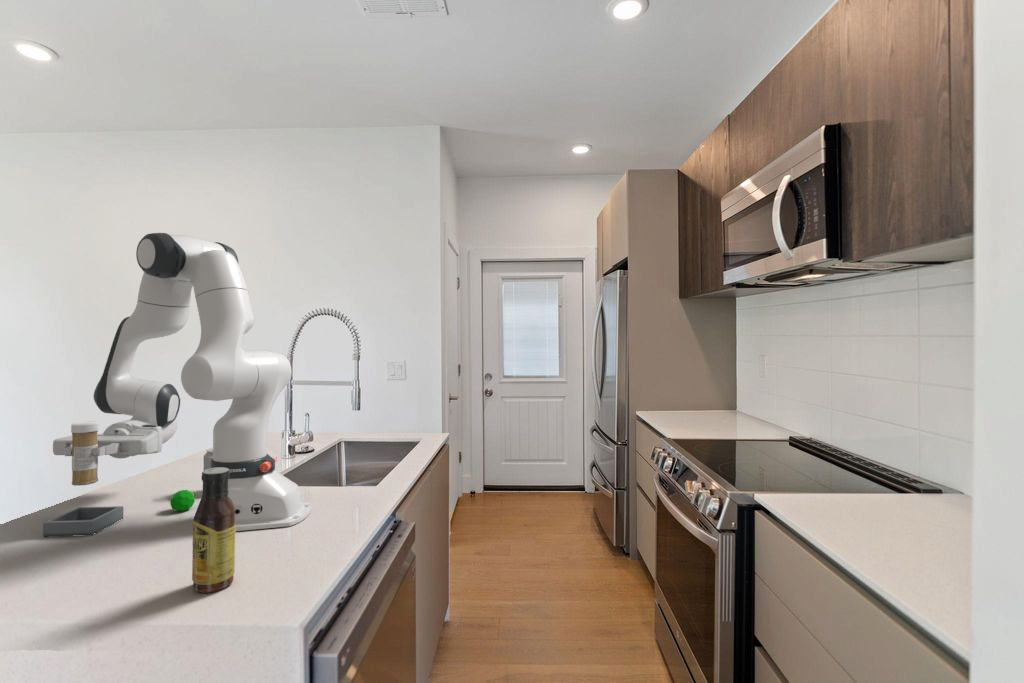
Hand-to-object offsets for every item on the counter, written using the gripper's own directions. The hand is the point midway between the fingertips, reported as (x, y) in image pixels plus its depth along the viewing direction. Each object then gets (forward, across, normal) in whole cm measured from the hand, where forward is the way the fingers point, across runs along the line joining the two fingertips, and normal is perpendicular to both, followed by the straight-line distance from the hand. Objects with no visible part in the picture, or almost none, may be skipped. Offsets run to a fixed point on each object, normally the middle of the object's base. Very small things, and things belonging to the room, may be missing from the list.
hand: (82, 452), depth 109 cm
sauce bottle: (+28, +41, +17) cm, 53 cm away
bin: (-1, 0, +17) cm, 17 cm away
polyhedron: (-11, +15, +17) cm, 25 cm away
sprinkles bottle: (-1, 0, +7) cm, 7 cm away
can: (-25, +17, +17) cm, 35 cm away
